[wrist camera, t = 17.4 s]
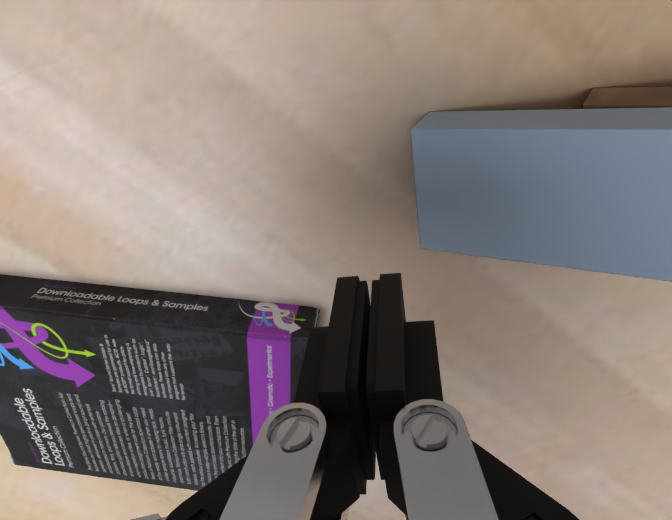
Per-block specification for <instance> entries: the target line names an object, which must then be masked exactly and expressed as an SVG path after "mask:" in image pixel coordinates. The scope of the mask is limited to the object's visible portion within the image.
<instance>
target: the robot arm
mask: <svg viewBox="0 0 672 520" xmlns="http://www.w3.org/2000/svg"><path fill="white" fill-rule="evenodd" d="M376 454H377V460H378V465H379V471H380V476H381V480H385V483H386V488H387V494H388V498H389V499H390V500H391V501H392V502H393V503H394V504H395V505H396V506H397V507H398V508H399V509H400V510H401V511H402V512H403V513H404V514H405V515H406V520H579V519H578V518H577V517H576V516H574V515H573V514H572V513H571V512H570V511H569V510H568V509H566V508H565V507H563V506H562V505H561V504H559V503H558V502H557V501H555V500H554V499H552V498H551V497H550V496H548V495H547V494H545V493H544V492H543V491H541V490H540V489H539V488H537V487H536V486H534V485H533V484H532V483H530V482H529V481H527V480H526V479H525V478H523V477H522V476H520V475H519V474H518V473H516V472H515V471H514V470H512V469H511V468H509V467H508V466H507V465H505V464H504V463H502V462H501V461H500V460H498V459H497V458H495V457H494V456H493V455H491V454H490V453H489V452H487V451H486V450H484V449H483V448H482V447H480V446H479V445H477V444H476V443H475V442H473V441H472V440H471V438H470V435H469V433H468V430H467V427H466V424H465V421H464V420H463V418H462V416H461V414H460V413H459V412H458V411H457V410H456V409H455V408H454V407H453V406H451V405H449V404H447V403H445V402H443V396H442V387H441V379H440V370H439V361H438V353H437V344H436V335H435V327H434V321H416V322H406V319H405V309H404V300H403V290H402V280H401V273H393V274H380V280H373V281H372V293H371V306H370V299H369V292H368V286H367V281H360V280H359V277H358V276H352V277H338V278H337V283H336V288H335V294H334V300H333V305H332V311H331V317H330V323H329V326H326V327H312V328H311V330H310V333H309V337H308V342H307V346H306V351H305V355H304V359H303V364H302V368H301V373H300V377H299V382H298V386H297V390H296V395H295V399H294V403H292V404H288V405H285V406H282V407H281V408H279V409H277V410H275V411H274V412H273V413H272V414H271V415H270V416H268V417H267V419H266V420H265V422H264V423H263V425H262V427H261V429H260V431H259V433H258V436H257V438H256V440H255V442H254V445H253V447H252V449H251V451H250V453H249V454H248V455H247V456H245V457H244V458H243V459H241V460H240V461H239V462H237V463H236V464H234V465H233V466H232V467H230V468H229V469H228V470H226V471H225V472H224V473H222V474H221V475H220V476H218V477H217V478H215V479H214V480H213V481H211V482H210V483H209V484H207V485H206V486H205V487H203V488H202V489H201V490H199V491H198V492H196V493H195V494H194V495H192V496H191V497H190V498H188V499H187V500H186V501H184V502H183V503H182V504H180V505H179V506H178V507H177V508H176V509H174V510H173V511H172V512H171V513H170V514H169V515H168V516H167V517H163V518H161V517H160V515H159V513H158V514H154V515H149V516H145V517H140V518H136V519H132V520H348V507H350V506H351V505H352V504H353V503H354V502H355V501H356V500H357V499H358V498H359V497H360V494H366V482H367V480H374V479H375V459H376Z"/></svg>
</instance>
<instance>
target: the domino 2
mask: <svg viewBox="0 0 672 520" xmlns="http://www.w3.org/2000/svg"><path fill="white" fill-rule="evenodd" d="M664 107H672V87H624V88H592V90H591V92H590V93H589V95H588V97H587V99H586V100H585V102H584V104H583V109H607V108H664Z"/></svg>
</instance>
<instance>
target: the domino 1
mask: <svg viewBox="0 0 672 520" xmlns="http://www.w3.org/2000/svg"><path fill="white" fill-rule="evenodd" d="M411 140H412V152H413V165H414V177H415V190H416V202H417V214H418V227H419V239H420V248H421V249H428V250H436V251H444V252H451V253H459V254H466V255H474V256H482V257H489V258H497V259H504V260H512V261H519V262H527V263H535V264H542V265H550V266H557V267H565V268H572V269H580V270H588V271H595V272H603V273H610V274H618V275H625V276H633V277H641V278H648V279H656V280H663V281H671V282H672V107H664V108H607V109H551V110H494V111H437V112H429V113H428V114H427V115H425V116H424V117H423V118H422V119H421V120H420V121H419V122H418V123H417V124H416V125H415V126H414V127H413V128H411Z"/></svg>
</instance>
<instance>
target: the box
mask: <svg viewBox="0 0 672 520" xmlns="http://www.w3.org/2000/svg"><path fill="white" fill-rule="evenodd" d="M319 311H320V309H317V308H313V307H307V306H298V305H288V304H278V303H269V302H259V301H250V300H241V299H231V298H221V297H212V296H203V295H193V294H184V293H174V292H164V291H154V290H144V289H135V288H126V287H116V286H107V285H97V284H87V283H78V282H69V281H59V280H49V279H39V278H29V277H20V276H10V275H1V274H0V434H1V436H2V438H3V440H4V441H5V443H6V445H7V447H8V449H9V451H10V453H11V458H12V461H13V463H14V464H15V465H21V466H28V467H34V468H40V469H47V470H54V471H61V472H68V473H76V474H83V475H90V476H97V477H104V478H112V479H119V480H126V481H134V482H140V483H147V484H155V485H162V486H169V487H176V488H183V489H190V490H197V491H199V490H201V489H202V488H203V487H205V486H206V485H207V484H209V483H210V482H211V481H213V480H214V479H215V478H217V477H218V476H220V475H221V474H222V473H224V472H225V471H226V470H228V469H229V468H230V467H232V466H233V465H234V464H236V463H237V462H239V461H240V460H241V459H243V458H244V457H245V456H247V455H248V454H249V453H250V451H251V449H252V447H253V445H254V442H255V440H256V438H257V436H258V433H259V431H260V429H261V427H262V425H263V423H264V422H265V420H266V419H267V417H268V416H270V415H271V414H272V413H273V412H274V411H275V410H277V409H279V408H281V407H282V406H285V405H288V404H292V403H294V399H295V395H296V390H297V386H298V382H299V377H300V373H301V368H302V364H303V359H304V355H305V351H306V346H307V342H308V337H309V333H310V330H311V328H312V327H318V320H319Z"/></svg>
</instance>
